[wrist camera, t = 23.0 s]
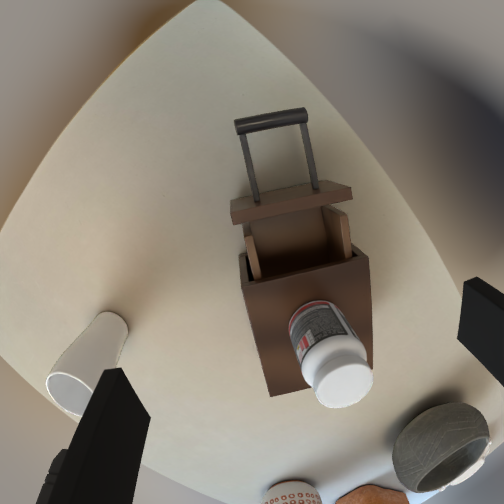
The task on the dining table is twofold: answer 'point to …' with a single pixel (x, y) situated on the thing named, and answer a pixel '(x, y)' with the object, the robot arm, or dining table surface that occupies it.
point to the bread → (373, 496)
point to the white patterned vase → (292, 493)
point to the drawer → (290, 211)
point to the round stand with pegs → (471, 469)
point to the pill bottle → (330, 354)
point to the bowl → (439, 446)
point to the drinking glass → (86, 362)
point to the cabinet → (291, 299)
